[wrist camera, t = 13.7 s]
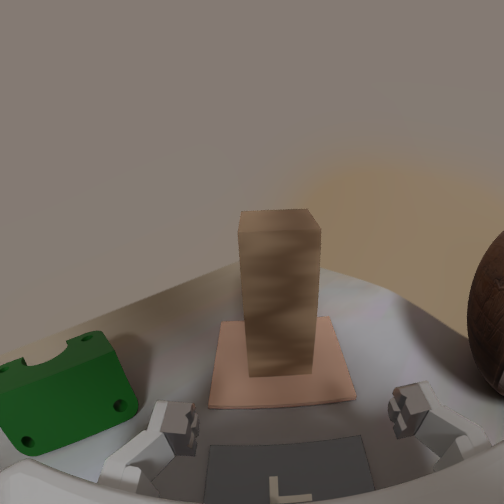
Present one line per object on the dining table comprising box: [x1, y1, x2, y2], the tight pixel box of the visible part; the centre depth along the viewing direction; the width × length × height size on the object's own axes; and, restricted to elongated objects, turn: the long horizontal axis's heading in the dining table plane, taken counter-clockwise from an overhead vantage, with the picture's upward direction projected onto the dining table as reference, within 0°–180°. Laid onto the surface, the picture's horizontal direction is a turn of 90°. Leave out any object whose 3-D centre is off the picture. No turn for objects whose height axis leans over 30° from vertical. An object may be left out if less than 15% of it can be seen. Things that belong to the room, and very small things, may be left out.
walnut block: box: [238, 209, 321, 377], centre depth 22 cm, size 5×5×12 cm
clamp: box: [0, 331, 138, 456], centre depth 17 cm, size 12×6×9 cm, turn 125°
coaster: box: [208, 316, 357, 409], centre depth 25 cm, size 11×11×1 cm
